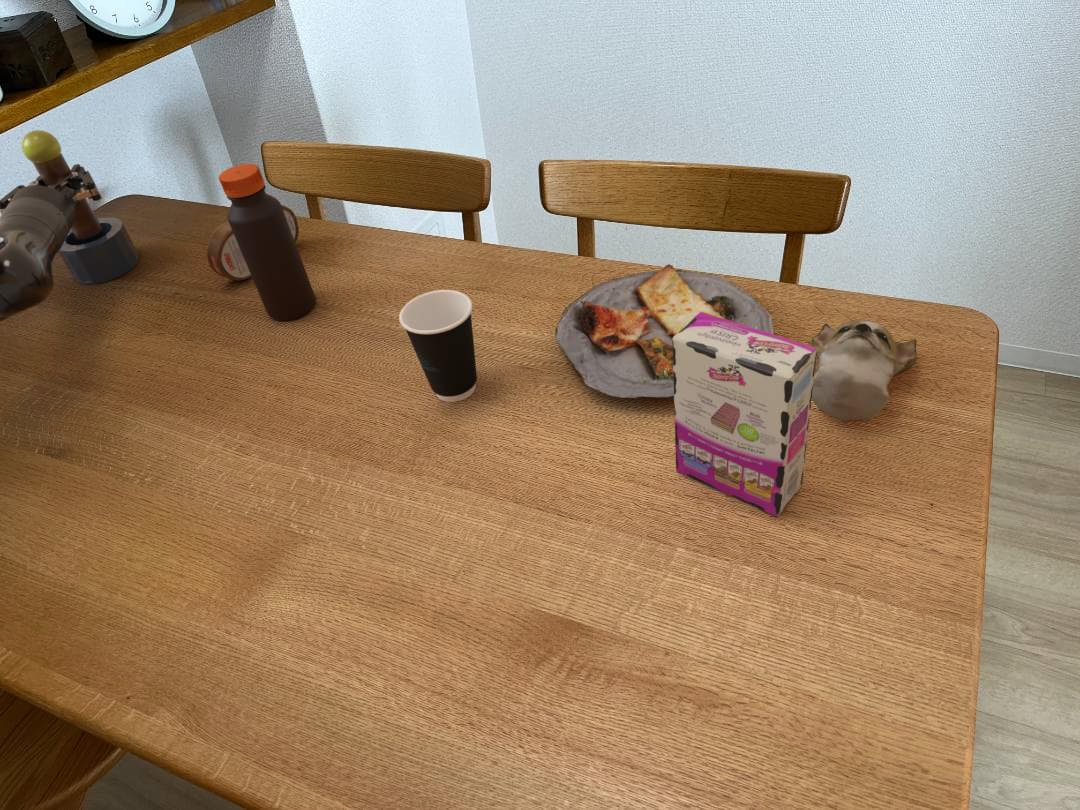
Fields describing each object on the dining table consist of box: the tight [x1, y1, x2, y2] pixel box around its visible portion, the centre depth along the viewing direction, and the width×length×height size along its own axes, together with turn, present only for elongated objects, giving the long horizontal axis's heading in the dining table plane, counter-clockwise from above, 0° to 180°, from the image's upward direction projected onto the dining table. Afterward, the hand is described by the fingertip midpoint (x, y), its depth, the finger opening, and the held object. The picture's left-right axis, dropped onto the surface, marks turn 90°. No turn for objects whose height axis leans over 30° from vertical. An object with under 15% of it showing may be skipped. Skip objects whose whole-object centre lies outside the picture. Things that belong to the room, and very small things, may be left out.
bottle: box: [218, 163, 317, 322], centre depth 105 cm, size 7×7×20 cm
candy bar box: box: [672, 312, 817, 518], centre depth 72 cm, size 11×5×16 cm, turn 50°
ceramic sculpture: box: [810, 319, 918, 422], centre depth 82 cm, size 11×9×15 cm
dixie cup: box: [398, 289, 478, 403], centre depth 90 cm, size 8×8×11 cm
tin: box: [206, 204, 300, 282], centre depth 119 cm, size 15×3×8 cm, turn 144°
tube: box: [57, 217, 140, 285], centre depth 126 cm, size 10×10×6 cm
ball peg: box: [21, 129, 102, 239], centre depth 119 cm, size 5×5×16 cm
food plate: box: [554, 263, 776, 399], centre depth 94 cm, size 25×23×4 cm
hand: (64, 174), depth 120 cm, fingers closed on ball peg, 4 cm apart
